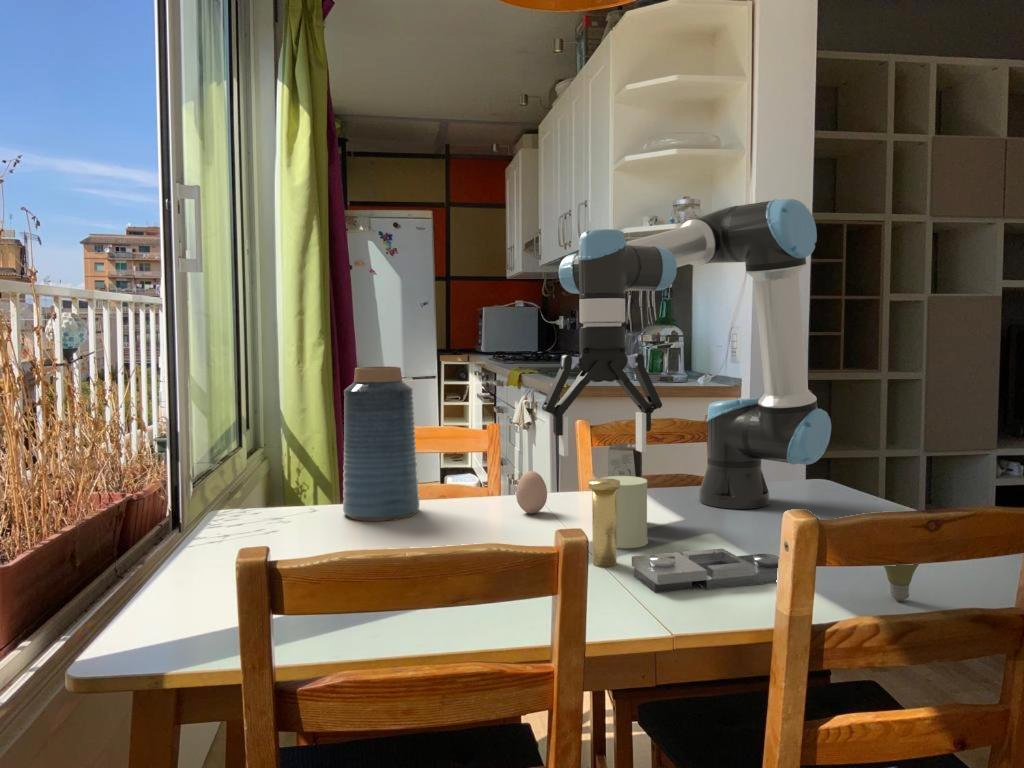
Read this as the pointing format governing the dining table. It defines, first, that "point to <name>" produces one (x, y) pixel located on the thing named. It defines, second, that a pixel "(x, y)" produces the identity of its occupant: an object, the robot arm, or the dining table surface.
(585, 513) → the dining table surface
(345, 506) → the vase
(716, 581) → the link plates
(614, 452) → the coffee box
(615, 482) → the pin
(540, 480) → the egg
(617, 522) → the can
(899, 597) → the light bulb
